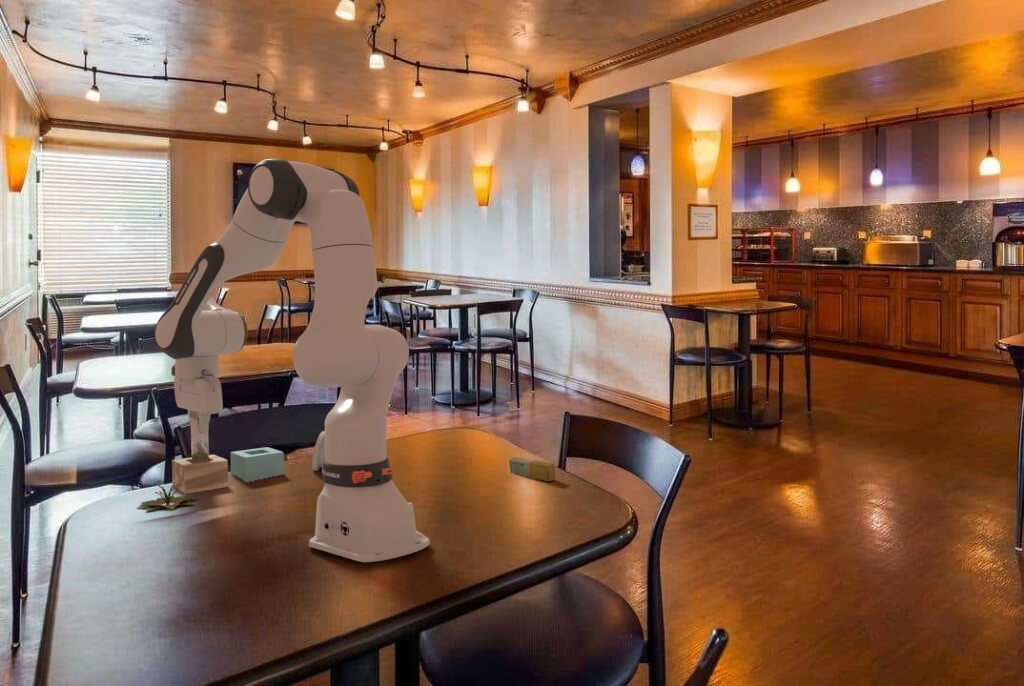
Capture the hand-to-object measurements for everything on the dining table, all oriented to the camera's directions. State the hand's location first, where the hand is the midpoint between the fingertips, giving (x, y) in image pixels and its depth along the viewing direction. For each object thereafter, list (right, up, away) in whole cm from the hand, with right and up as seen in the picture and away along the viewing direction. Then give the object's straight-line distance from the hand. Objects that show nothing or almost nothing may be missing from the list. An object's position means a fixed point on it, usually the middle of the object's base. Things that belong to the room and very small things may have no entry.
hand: (199, 430), depth 155 cm
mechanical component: (+24, -12, +14) cm, 30 cm away
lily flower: (0, -14, -14) cm, 20 cm away
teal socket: (+9, -12, +9) cm, 18 cm away
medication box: (+75, -12, +7) cm, 76 cm away
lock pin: (0, -6, 0) cm, 6 cm away
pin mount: (0, -13, +1) cm, 13 cm away
